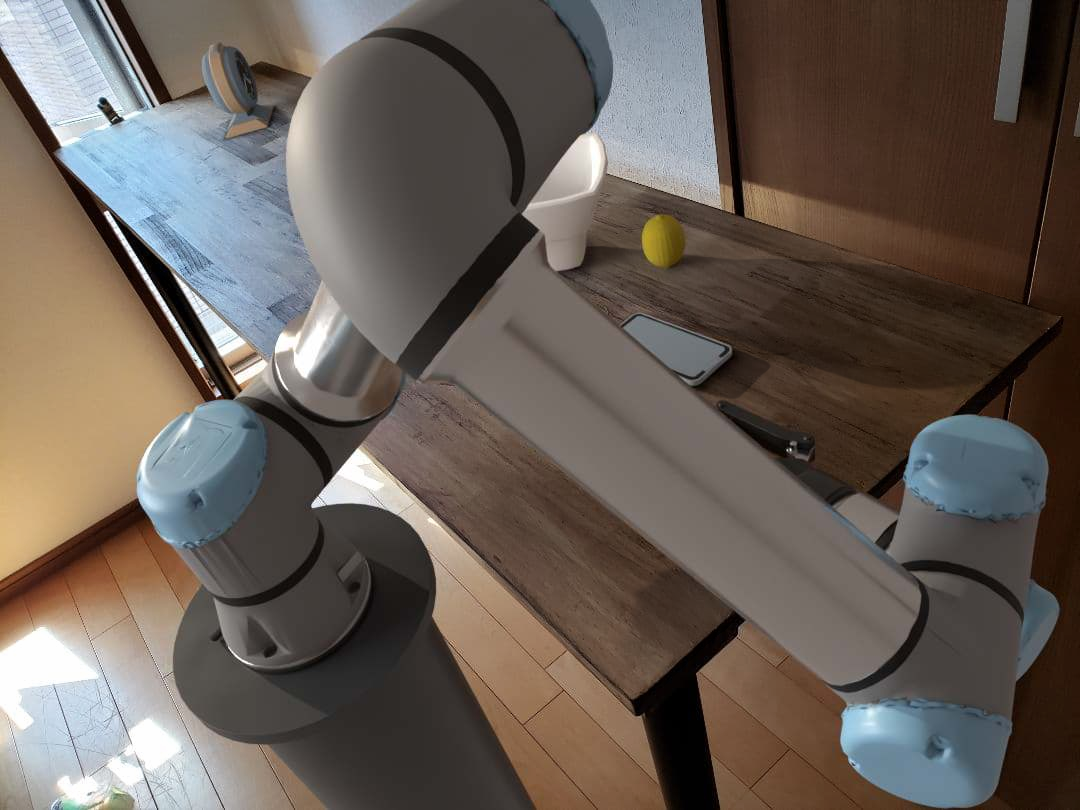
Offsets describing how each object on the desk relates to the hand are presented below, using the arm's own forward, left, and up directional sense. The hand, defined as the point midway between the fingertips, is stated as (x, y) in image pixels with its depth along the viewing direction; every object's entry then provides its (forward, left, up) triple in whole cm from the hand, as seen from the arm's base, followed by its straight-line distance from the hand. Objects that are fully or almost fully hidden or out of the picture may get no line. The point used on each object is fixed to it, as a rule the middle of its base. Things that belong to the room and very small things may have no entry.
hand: (627, 409), depth 81 cm
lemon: (+28, +23, -8) cm, 37 cm away
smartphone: (+15, +11, -8) cm, 20 cm away
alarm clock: (+21, +148, -8) cm, 149 cm away
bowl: (+21, +38, -8) cm, 44 cm away
